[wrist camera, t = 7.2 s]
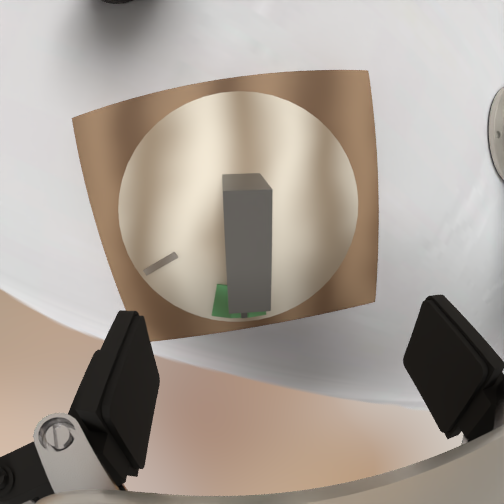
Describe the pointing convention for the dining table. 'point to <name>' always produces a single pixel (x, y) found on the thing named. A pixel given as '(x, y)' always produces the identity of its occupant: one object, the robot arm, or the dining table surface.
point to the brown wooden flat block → (211, 195)
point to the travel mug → (116, 1)
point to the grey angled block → (248, 242)
